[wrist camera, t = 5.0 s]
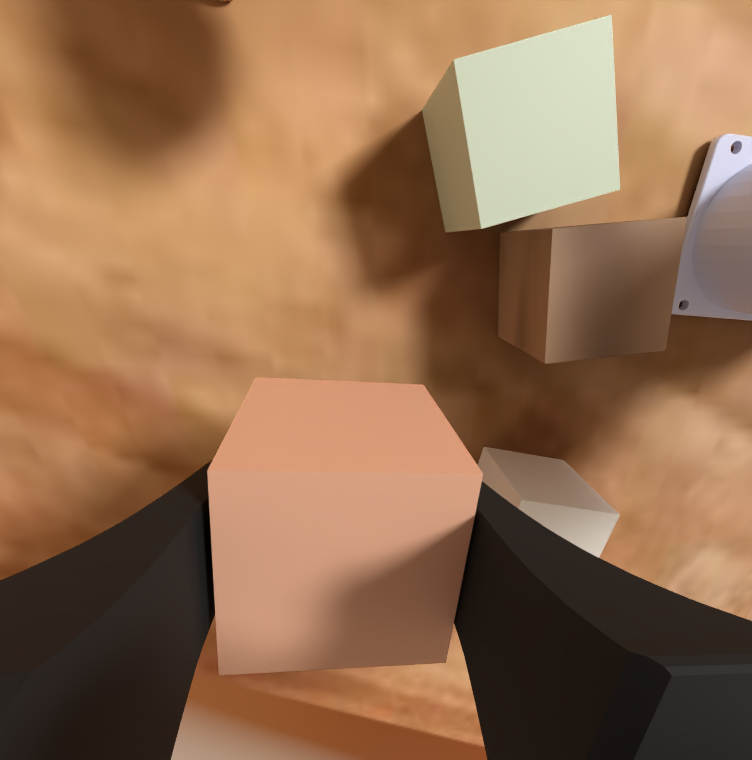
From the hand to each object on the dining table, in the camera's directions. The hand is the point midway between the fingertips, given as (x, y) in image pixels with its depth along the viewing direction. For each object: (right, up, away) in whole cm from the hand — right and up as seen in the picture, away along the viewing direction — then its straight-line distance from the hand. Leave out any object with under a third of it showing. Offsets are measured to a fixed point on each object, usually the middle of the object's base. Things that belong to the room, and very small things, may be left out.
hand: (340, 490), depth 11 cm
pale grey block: (+9, -4, +13) cm, 16 cm away
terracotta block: (0, +1, +2) cm, 2 cm away
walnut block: (+9, +8, +9) cm, 15 cm away
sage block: (+6, +13, +7) cm, 16 cm away
